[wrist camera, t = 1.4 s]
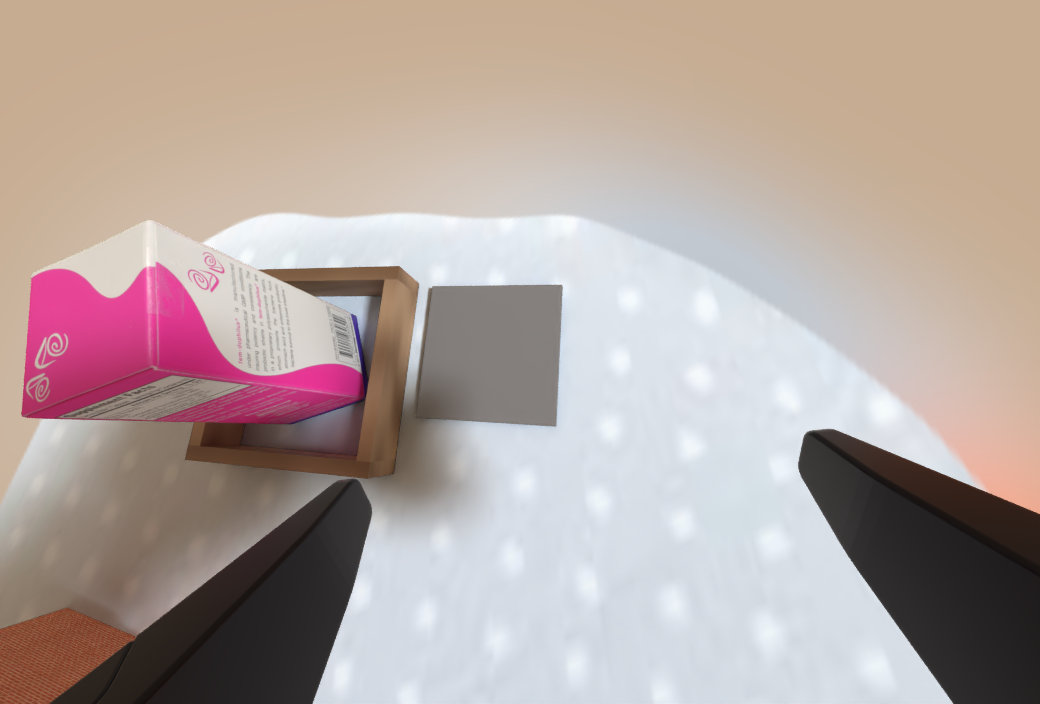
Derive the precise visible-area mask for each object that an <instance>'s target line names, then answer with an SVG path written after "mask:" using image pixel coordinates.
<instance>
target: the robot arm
mask: <svg viewBox="0 0 1040 704" xmlns="http://www.w3.org/2000/svg"><path fill="white" fill-rule="evenodd" d="M798 468H799V472H800V475H801V477H802V479H803V481H804V482H805V484H806V486H807V487H808V489H809V491H810V493H811V494H812V496H813V498H814V499H815V501H816V503H817V505H818V506H819V508H820V510H821V511H822V513H823V515H824V516H825V518H826V520H827V522H828V523H829V525H830V527H831V528H832V530H833V532H834V534H835V535H836V537H837V539H838V540H839V542H840V544H841V545H842V547H843V549H844V550H845V552H846V553H847V555H848V557H849V558H850V559H851V561H852V562H853V564H854V565H855V567H856V568H857V570H858V571H859V573H860V574H861V575H862V577H863V578H864V579H865V581H866V582H867V584H868V585H869V586H870V588H871V589H872V591H873V592H874V593H875V595H876V596H877V598H878V599H879V600H880V602H881V603H882V605H883V606H884V607H885V609H886V610H887V612H888V613H889V614H890V616H891V617H892V619H893V620H894V621H895V623H896V624H897V626H898V627H899V628H900V630H901V631H902V633H903V634H904V635H905V637H906V638H907V639H908V641H909V642H910V644H911V645H912V646H913V648H914V649H915V651H916V652H917V653H918V655H919V656H920V658H921V659H922V660H923V662H924V663H925V665H926V666H927V667H928V669H929V670H930V672H931V673H932V674H933V676H934V677H935V679H936V680H937V681H938V683H939V684H940V686H941V687H942V688H943V690H944V691H945V693H946V694H947V695H948V697H949V698H950V700H951V701H952V702H953V704H1040V514H1038V513H1036V512H1033V511H1031V510H1028V509H1026V508H1024V507H1021V506H1019V505H1016V504H1014V503H1012V502H1009V501H1007V500H1004V499H1002V498H999V497H997V496H995V495H992V494H990V493H987V492H985V491H982V490H980V489H978V488H975V487H973V486H970V485H968V484H965V483H963V482H961V481H958V480H956V479H953V478H951V477H948V476H946V475H944V474H941V473H939V472H936V471H934V470H931V469H929V468H927V467H924V466H922V465H919V464H917V463H914V462H912V461H910V460H907V459H905V458H902V457H900V456H897V455H895V454H893V453H890V452H888V451H885V450H883V449H881V448H878V447H876V446H873V445H871V444H868V443H866V442H864V441H861V440H859V439H856V438H854V437H851V436H849V435H847V434H844V433H842V432H839V431H837V430H834V429H821V430H812V431H808V432H807V433H806V434H805V435H804V438H803V443H802V447H801V452H800V457H799V462H798ZM371 516H372V508H371V504H370V502H369V500H368V498H367V496H366V494H365V491H364V489H363V487H362V485H361V483H360V482H359V481H358V480H357V479H346V480H339V481H336V482H335V483H333V484H332V485H331V486H330V487H328V488H327V489H326V490H324V491H323V492H322V493H321V494H319V495H318V496H317V497H315V498H314V499H313V500H312V501H310V502H309V503H308V504H306V505H305V506H304V507H302V508H301V509H300V510H299V511H297V512H296V513H295V514H293V515H292V516H291V517H290V518H288V519H287V520H286V521H284V522H283V523H282V524H281V525H279V526H278V527H277V528H275V529H274V530H273V531H272V532H270V533H269V534H268V535H266V536H265V537H264V538H263V539H261V540H260V541H259V542H257V543H256V544H255V545H254V546H252V547H251V548H250V549H248V550H247V551H246V552H245V553H243V554H242V555H241V556H239V557H238V558H237V559H236V560H234V561H233V562H232V563H230V564H229V565H228V566H226V567H225V568H224V569H223V570H221V571H220V572H219V573H217V574H216V575H215V576H214V577H212V578H211V579H210V580H208V581H207V582H206V583H205V584H203V585H202V586H201V587H199V588H198V589H197V590H196V591H194V592H193V593H192V594H190V595H189V596H188V597H187V598H185V599H184V600H183V601H181V602H180V603H179V604H178V605H176V606H175V607H174V608H172V609H171V610H170V611H169V612H167V613H166V614H165V615H163V616H162V617H161V618H159V619H158V620H157V621H156V622H154V623H153V624H152V625H150V626H149V627H148V628H147V629H145V630H144V631H143V632H141V633H140V634H139V635H138V636H137V637H136V638H135V640H134V641H130V642H128V643H127V644H126V645H125V646H123V647H122V648H121V649H119V650H118V651H117V652H116V653H114V654H113V655H112V656H110V657H109V658H108V659H107V660H105V661H104V662H103V663H101V664H100V665H99V666H98V667H96V668H95V669H94V670H92V671H91V672H90V673H88V674H87V675H86V676H84V677H83V678H82V679H80V680H79V681H78V682H77V683H75V684H74V685H73V686H71V687H70V688H69V689H67V690H66V691H65V692H63V693H62V694H61V695H59V696H58V697H57V698H56V699H54V700H53V701H52V702H50V703H49V704H313V701H314V698H315V695H316V693H317V690H318V687H319V684H320V681H321V678H322V676H323V673H324V670H325V667H326V664H327V662H328V659H329V656H330V653H331V650H332V647H333V645H334V642H335V639H336V636H337V633H338V630H339V628H340V625H341V622H342V619H343V616H344V613H345V611H346V608H347V605H348V602H349V599H350V596H351V593H352V590H353V586H354V583H355V579H356V576H357V572H358V568H359V564H360V560H361V556H362V552H363V548H364V544H365V540H366V536H367V532H368V528H369V524H370V520H371Z"/></svg>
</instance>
